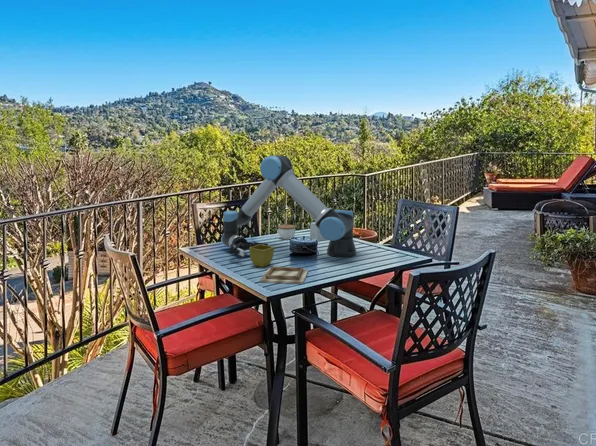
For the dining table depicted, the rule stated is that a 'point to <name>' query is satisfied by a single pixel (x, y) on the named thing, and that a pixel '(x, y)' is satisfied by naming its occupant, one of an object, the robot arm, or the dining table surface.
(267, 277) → the birch tray
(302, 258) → the dining table surface
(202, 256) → the dining table surface
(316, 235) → the skincare box
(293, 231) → the lidded jar
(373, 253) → the dining table surface
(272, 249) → the flower pot
